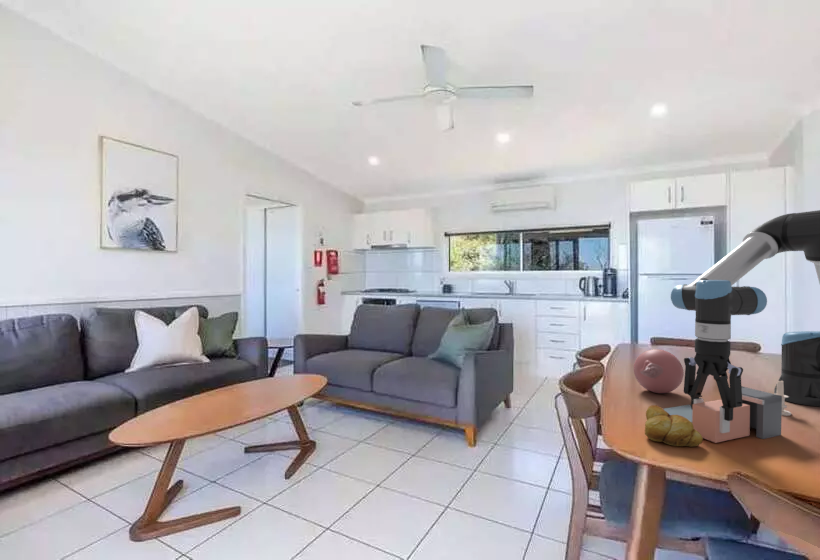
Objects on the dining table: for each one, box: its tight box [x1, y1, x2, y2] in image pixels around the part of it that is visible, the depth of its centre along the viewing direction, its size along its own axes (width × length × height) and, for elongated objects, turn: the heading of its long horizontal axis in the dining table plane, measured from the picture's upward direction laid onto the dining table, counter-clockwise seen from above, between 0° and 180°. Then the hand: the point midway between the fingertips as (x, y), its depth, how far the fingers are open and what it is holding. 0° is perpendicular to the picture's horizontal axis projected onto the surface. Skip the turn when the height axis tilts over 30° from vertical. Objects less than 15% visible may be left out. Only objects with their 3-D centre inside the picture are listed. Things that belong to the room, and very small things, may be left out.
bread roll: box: [644, 404, 704, 448], centre depth 107 cm, size 13×10×8 cm
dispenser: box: [741, 385, 783, 440], centre depth 114 cm, size 8×10×10 cm
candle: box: [776, 380, 792, 417], centre depth 128 cm, size 5×5×10 cm
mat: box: [663, 404, 693, 423], centre depth 125 cm, size 18×11×1 cm, turn 110°
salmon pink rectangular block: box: [692, 399, 751, 444], centre depth 110 cm, size 13×6×8 cm, turn 110°
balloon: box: [633, 348, 685, 394], centre depth 148 cm, size 15×20×15 cm
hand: (710, 427), depth 109 cm, fingers closed on salmon pink rectangular block, 6 cm apart
